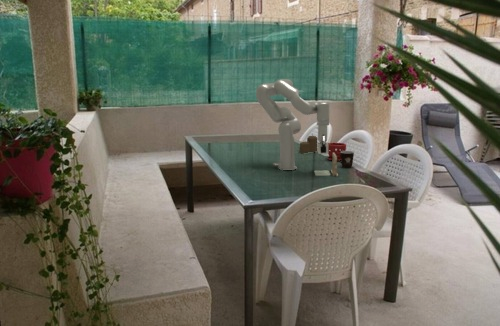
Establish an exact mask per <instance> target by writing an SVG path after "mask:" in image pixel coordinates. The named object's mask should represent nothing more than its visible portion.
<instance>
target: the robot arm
mask: <svg viewBox="0 0 500 326" xmlns="http://www.w3.org/2000/svg"><path fill="white" fill-rule="evenodd" d="M255 90H256V91H255V97H256V100H257V101H258V104H259V105H260V106H261V107H262V109H263V110H264V111H265V113H266V114H267V115H268V116H269V118H270V119H271V121H273V123H277V124H278V123H279V124H278V125H279V126H278V128H277V129H278V130H277V131H278V135H279V136H278V137H279V162H273V163H272V164H273V166H275V167H277V169H278V168H279V169H283V170H292V171H295V170H294V169H296V170H297V169H298V167H297V166H296V164H295V161H296V157H295V156H296V154H295V153H296V150H295V149H296V148H295V145H296V144H295V142H296V141H295V137H294V135H296V134H298V133H300V131H301V129H302V125H301V122H300V121H299V119H298V117H296V115H295V114H294V113H293V112H292V110H291V109H289V108H288V107H286V106H284V107H283V106H282V107H280V106H279V105H278V103H276V101H275V100H274V99H273V98H271V97H274V96H279V95H281V96H282V97H284V98H285V99H286V100H288V101H289V102H290V104H291V105H292V106H293V108H294V109H295V110H297V111H298V112H300V113H302V114H303V115H306V116H309V115H315V114H316V126H318V127H317V142H318V143H321V153H326V142H328V126H330V102H326V101H314V100H313V101H306V100H305V99H303V98H301V96H300V90H299V89H298V88H296V87H294V83H293V81H292V80H291V79H288V78H283V79H282V78H281V79H277V80H276V81H275V82H271V83H270V82H269V83H266V82H265V83H262V84H259V85H258V86H257V87H256V89H255ZM279 169H278V170H279ZM283 170H282V171H283Z"/></svg>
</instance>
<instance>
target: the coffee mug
mask: <svg viewBox="0 0 500 326" xmlns="http://www.w3.org/2000/svg"><path fill="white" fill-rule="evenodd" d="M336 155H340V154H336ZM354 155H355V152H354V151H353V150H352V151H351V150H346V151H341V155H340V157H341V160H342V161H339V160H337V162H339V163H340V164H341V168H343V169H351V167H352V168H353V164H354V157H355V156H354Z"/></svg>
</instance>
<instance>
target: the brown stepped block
mask: <svg viewBox="0 0 500 326" xmlns="http://www.w3.org/2000/svg"><path fill="white" fill-rule="evenodd" d="M315 151H317V152H318V136H316V135H313V133H311V135H308V136H307V138H306V140H304V141H302V142H300V143H299V153H300V152H301V153H308V152H315Z"/></svg>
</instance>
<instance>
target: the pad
mask: <svg viewBox="0 0 500 326" xmlns="http://www.w3.org/2000/svg"><path fill="white" fill-rule="evenodd" d="M313 172H314V175H315V177H319V176H321V177H323V176H324V177H325V176H326V177H329V176H331V173H330V171H329V170H314V171H313Z"/></svg>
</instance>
